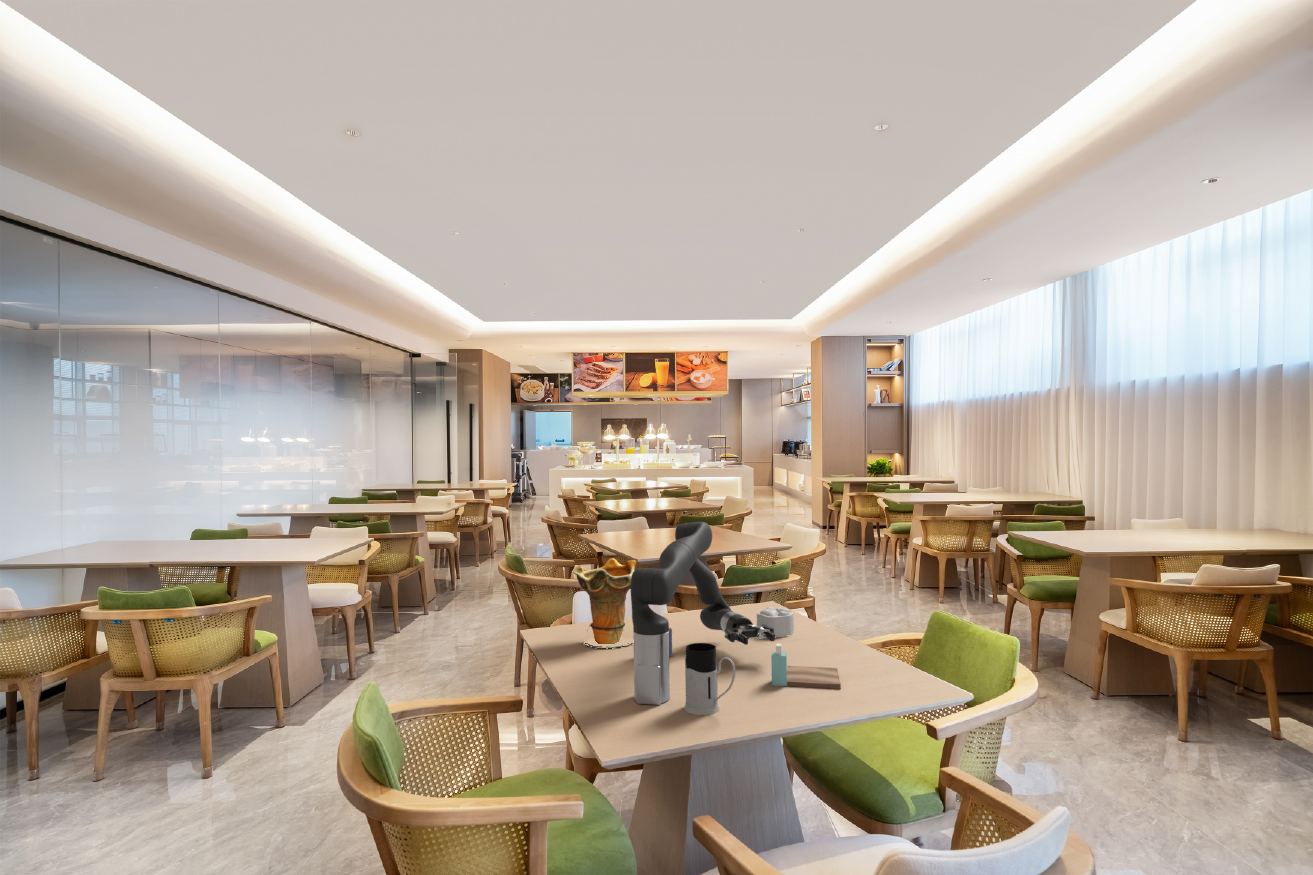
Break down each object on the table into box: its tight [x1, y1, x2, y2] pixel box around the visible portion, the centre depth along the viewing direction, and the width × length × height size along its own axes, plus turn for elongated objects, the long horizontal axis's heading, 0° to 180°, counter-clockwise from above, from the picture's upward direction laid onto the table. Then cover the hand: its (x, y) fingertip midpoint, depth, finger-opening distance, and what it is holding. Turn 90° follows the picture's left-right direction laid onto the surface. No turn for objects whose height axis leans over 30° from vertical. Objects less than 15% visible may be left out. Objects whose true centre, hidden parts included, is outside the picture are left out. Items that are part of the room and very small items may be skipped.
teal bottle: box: [770, 643, 788, 687], centre depth 180 cm, size 4×4×10 cm
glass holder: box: [683, 642, 736, 716], centre depth 160 cm, size 9×14×15 cm, turn 51°
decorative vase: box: [573, 557, 637, 648], centre depth 224 cm, size 21×23×28 cm
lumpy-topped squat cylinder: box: [756, 606, 795, 638], centre depth 232 cm, size 10×13×9 cm
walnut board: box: [786, 665, 842, 690], centre depth 182 cm, size 14×14×1 cm
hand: (760, 639), depth 191 cm, fingers open, 8 cm apart
